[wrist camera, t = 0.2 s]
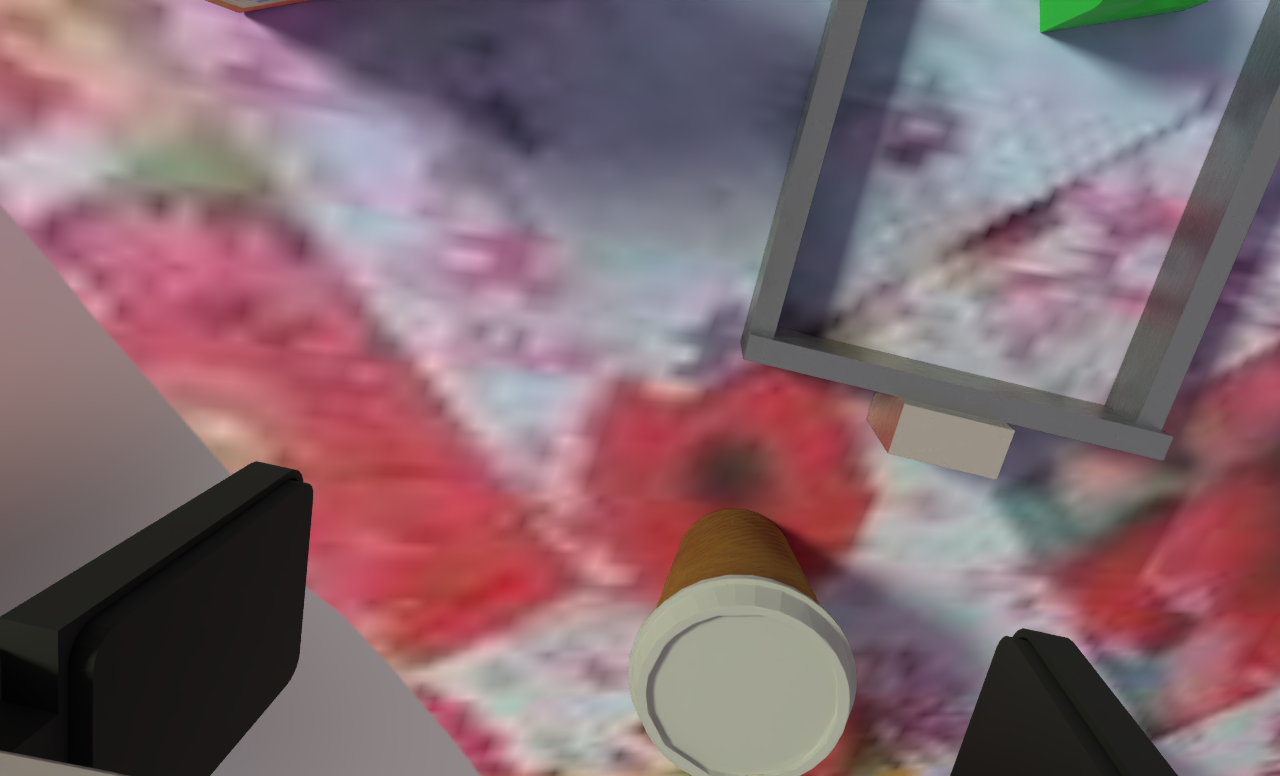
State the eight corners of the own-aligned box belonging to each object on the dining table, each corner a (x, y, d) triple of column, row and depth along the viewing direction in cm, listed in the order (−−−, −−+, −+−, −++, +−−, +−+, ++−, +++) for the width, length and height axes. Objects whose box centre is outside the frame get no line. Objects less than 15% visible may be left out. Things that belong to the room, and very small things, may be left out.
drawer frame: (869, -140, 34) (896, -195, 29) (1317, -40, 34) (1422, -78, 29) (728, 386, 41) (730, 415, 36) (1101, 476, 40) (1156, 518, 35)
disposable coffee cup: (620, 518, 43) (586, 641, 32) (782, 454, 42) (809, 560, 30) (689, 659, 45) (682, 824, 34) (848, 604, 43) (897, 758, 32)
